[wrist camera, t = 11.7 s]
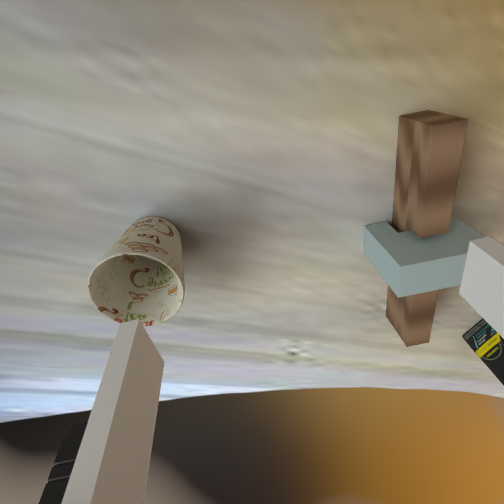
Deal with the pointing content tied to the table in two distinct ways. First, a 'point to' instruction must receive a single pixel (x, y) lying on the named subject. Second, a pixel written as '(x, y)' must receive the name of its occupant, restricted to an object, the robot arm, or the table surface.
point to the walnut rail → (423, 203)
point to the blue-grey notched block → (419, 256)
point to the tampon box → (487, 347)
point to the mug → (141, 274)
